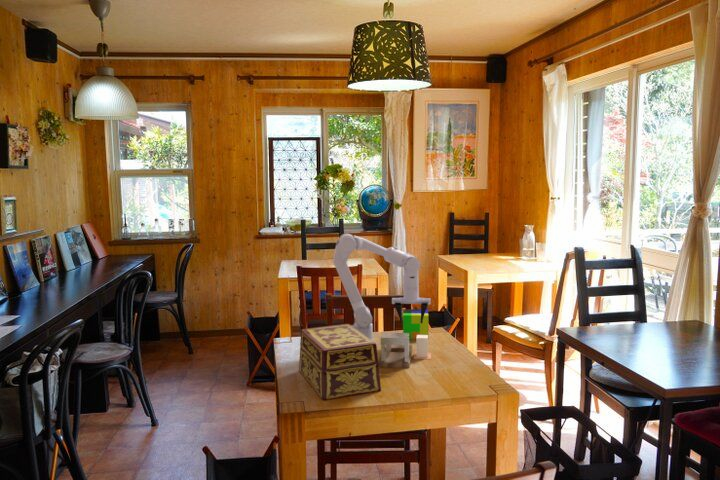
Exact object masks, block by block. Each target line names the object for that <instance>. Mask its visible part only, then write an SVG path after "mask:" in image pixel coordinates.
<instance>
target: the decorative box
mask: <svg viewBox="0 0 720 480" xmlns="http://www.w3.org/2000/svg"><path fill="white" fill-rule="evenodd" d="M351 325H352V324H350V323H343V324H342V323H341V324H334V325H328V326H327V325H326V326H325V325H324V326H318V327H310V328H302V329H300V339H299V341H300V342H299V343H300V344H299V365H298V367H299V368H298V372H299V373H300V374H301V376H302V377H303V378H304V379H305V381H306V382H307V383H308V384H309V385H310V387H311V388H312V389H313V391H314V392H315V393H316V394H317V395H318V397H320V399H321V400H322V401H324V402H325V401H331V400H332V401H333V400H337V399H343V398H349V397H356V396H360V395H361V396H362V395H366V394H373V393H378V392H382V387H381V386H382V385H381V378H380V369H379V368H380V364H379V357H378V347H377V343H376V342H375V341H374V340H373V341H372V340H371V339H369V338H368V337H366V336H365V335H364V334H362V333H361V332H359V331H358V330H356V329H355V328H354V327H352V326H351Z"/></svg>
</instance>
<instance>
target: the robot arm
mask: <svg viewBox="0 0 720 480" xmlns="http://www.w3.org/2000/svg"><path fill="white" fill-rule="evenodd" d="M363 250H366V251H369V252H371V253H373V254H377V255H379V256H381V257H383V259H384V261H385V262H387V263H389V264H392V265H394V266H396V267H399V268H403V276H402V277H403V297H391V304H392V305H394V308H395V310H396V312H397V315H398V318H399V323H400V324H403V305H404V304H405V305H409V304H410V305H420V309H421V323H423V317H424V314H425V311H426V309H428V306H429V305H430V306H431V303H432V301H431V297H430V298H429V297H428V298H426V297H420V289H419V288H420V287H419V285H420V284H419V283H420V281H419V280H420V278H419V277H420V276H419V269H420V268H421V263H420V260H419V259H418V258H417V257H415V256H414V255H413V254H410V252H409V251H407V252H404V251H402V250H400V249H399V247H397V246H394V247H393V246H390V247H388V248H387V247H384V246H382V245H380V244H378V243H375V242H373V241H371V240H368V239H366V238H364V237H362V236H357V235H353V234H351V233H347V232H345V233H342V234H341V235H340V236H339V237H338V240H336V243H335V249H334V255H333V258H332V261H333V264H334V266H335V270H336V272H337V274H338V276H339V279H340V281H341V284H342V285H343V288H344V290H345V292H346V295H347V297H348V300H349V302H350V305H351V307H352V310H353V316H354V319H355V322H354V323H353V324H350V325H351V326H352V327H354V328H355V329H356V330H358V331H359V332H361V333H362V334H364V335H365V336H366V337H368V338H369V339H371V340H372V341H373V342H374V339H373V338H374V334H373V333H374V331H373V330H374V329H373V328H374V327H373V315H372V314H371V311H370V308H369V307H368V306H366V304H365V303H364V301H363V298H362V296H361V294H360V291H359V289H358V286H357V284H356V282H355V279H354V277H353V275H352V273H351V270H350V267H349V264H348V260H349V258H350V255H351V254H352V253H354V251H363Z"/></svg>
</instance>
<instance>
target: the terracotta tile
mask: <svg viewBox="0 0 720 480" xmlns="http://www.w3.org/2000/svg"><path fill="white" fill-rule="evenodd" d="M413 359H414V360H432V353H431V352H428V357H417V351H415V352H414V354H413Z"/></svg>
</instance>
